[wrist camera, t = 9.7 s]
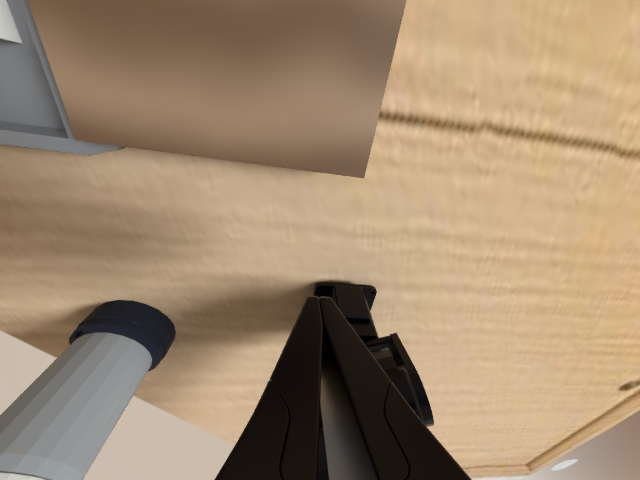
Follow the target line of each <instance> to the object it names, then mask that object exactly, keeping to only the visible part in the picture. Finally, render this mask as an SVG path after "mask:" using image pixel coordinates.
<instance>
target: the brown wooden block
mask: <svg viewBox="0 0 640 480" xmlns="http://www.w3.org/2000/svg"><path fill="white" fill-rule="evenodd" d="M28 3H29V6H30V9H31V12H32V15H33V18H34V20H35V23H36V26H37V29H38V32H39V35H40V38H41V41H42V43H43V46H44V49H45V52H46V55H47V58H48V61H49V63H50V66H51V69H52V72H53V75H54V78H55V81H56V84H57V86H58V89H59V92H60V95H61V98H62V101H63V104H64V106H65V109H66V112H67V115H68V118H69V121H70V124H71V127H72V129H73V132H74V135H75V138H76V140H80V141H88V142H95V143H103V144H110V145H118V146H125V147H133V148H140V149H148V150H155V151H163V152H171V153H178V154H186V155H193V156H201V157H208V158H216V159H223V160H231V161H238V162H246V163H253V164H261V165H268V166H276V167H283V168H291V169H298V170H306V171H313V172H321V173H328V174H336V175H343V176H351V177H359V178H364V176H365V172H366V167H367V163H368V159H369V155H370V151H371V147H372V142H373V138H374V134H375V130H376V126H377V121H378V117H379V113H380V109H381V105H382V100H383V96H384V92H385V88H386V84H387V79H388V75H389V71H390V67H391V63H392V58H393V54H394V50H395V46H396V42H397V37H398V33H399V29H400V25H401V21H402V16H403V12H404V8H405V4H406V0H28Z"/></svg>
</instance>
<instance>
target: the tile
mask: <svg viewBox="0 0 640 480" xmlns="http://www.w3.org/2000/svg"><path fill="white" fill-rule="evenodd" d="M0 39H1V40H6V41H12V42H17V43H22V41H21V38H20V36H19V33H18V30H17V28H16V25H15V22H14V19H13V17H12V14H11V11H10V9H9V6H8V3H7V1H6V0H0Z"/></svg>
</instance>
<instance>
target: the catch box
mask: <svg viewBox="0 0 640 480" xmlns="http://www.w3.org/2000/svg"><path fill="white" fill-rule="evenodd" d="M6 1H7V3H8V6H9V9H10V11H11V14H12V17H13V19H14V22H15V25H16V28H17V30H18V33H19V36H20V38H21V41H22V43H17V42H12V41H6V40H1V39H0V144H3V145H11V146H19V147H27V148H35V149H43V150H51V151H59V152H67V153H75V154H83V155H94V154H99V153H104V152H109V151H114V150H119V149H124V146H118V145H110V144H103V143H95V142H88V141H80V140H76V138H75V135H74V132H73V129H72V127H71V124H70V121H69V118H68V115H67V112H66V109H65V106H64V104H63V101H62V98H61V95H60V92H59V89H58V86H57V84H56V81H55V78H54V75H53V72H52V69H51V66H50V63H49V61H48V58H47V55H46V52H45V49H44V46H43V43H42V41H41V38H40V35H39V32H38V29H37V26H36V23H35V20H34V18H33V15H32V12H31V9H30V6H29V3H28V0H6Z"/></svg>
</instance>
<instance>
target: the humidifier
mask: <svg viewBox="0 0 640 480" xmlns="http://www.w3.org/2000/svg"><path fill="white" fill-rule="evenodd" d="M175 334H176V331H175V327H174V325H173V323H172V322H171V321H170V319H169V318H168V317H167V316H166V315H164V314H163V313H162V312H160V311H159V310H157V309H155V308H153V307H151V306H149V305H146V304H143V303H139V302H135V301H124V300H117V301H112V302H106V303H104V304H103V305H101V306H99V307H97V308H96V309H95V310H94V311H93V312H92V313H91V314H90V315H89V316H88V317H87V318H86V319H85V320H83V321H82V322H81V323H80V324H79V326H78V327H77V329H76V330H75V331H74V332H73V334H72V335H71V337H70V338H69V343H70V346H69V347H68V348H67V349H66V350H65V351H64V352H63V353H62V354H61V355H60V356H59V357H58V358H57V359H56V360H55V361H54V362H53V363H52V364H51V365H50V366H49V367H48V368H47V369H46V370H45V371H44V372H43V373H42V374H41V375H40V376H39V377H38V378H37V379H36V380H35V381H34V382H33V383H32V384H31V385H30V386H29V387H28V388H27V389H26V390H25V391H24V392H23V393H22V394H21V395H20V396H19V397H18V398H17V399H16V400H15V401H14V402H13V403H12V404H11V405H10V406H9V407H8V408H7V409H6V410H5V411H4V412H3V413H2V414H1V415H0V480H83V479H84V477H85V475H86V474H87V472H88V470H89V469H90V467H91V465H92V464H93V462H94V460H95V458H96V457H97V455H98V453H99V452H100V450H101V448H102V447H103V445H104V443H105V442H106V440H107V438H108V437H109V435H110V433H111V432H112V430H113V428H114V427H115V425H116V423H117V422H118V420H119V418H120V417H121V415H122V413H123V411H124V410H125V408H126V406H127V405H128V403H129V402H130V400H131V398H132V397H133V395H134V393H135V392H136V390H137V388H138V387H139V385H140V383H141V382H142V380H143V378H144V376H145V375H146V373H147V372H148V371H150V370H152V369H154V368H155V367H156V366H157V365H158V364H159V363H160V361H161V360H162V359H163V358H164V357H165V355H166V353H167V351H168V349H169V348H170V346H171V344H172V342H173V341H174V338H175Z"/></svg>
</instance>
